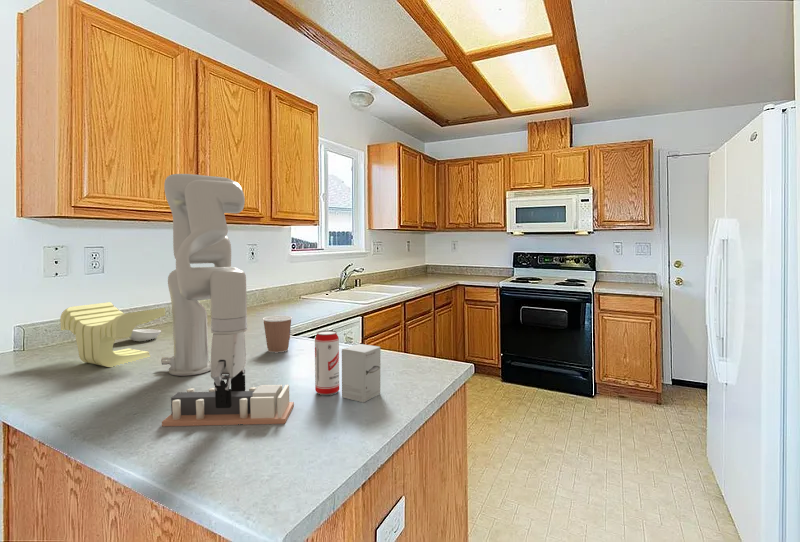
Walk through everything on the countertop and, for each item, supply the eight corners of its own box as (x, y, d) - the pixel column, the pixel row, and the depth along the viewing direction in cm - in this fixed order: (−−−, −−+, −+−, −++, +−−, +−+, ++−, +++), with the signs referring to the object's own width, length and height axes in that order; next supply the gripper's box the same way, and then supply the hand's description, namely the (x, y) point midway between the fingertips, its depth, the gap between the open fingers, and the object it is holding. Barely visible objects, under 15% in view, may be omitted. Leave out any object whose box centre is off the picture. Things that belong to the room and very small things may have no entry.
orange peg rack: (161, 426, 91) (161, 401, 91) (183, 408, 101) (182, 385, 101) (284, 423, 93) (284, 398, 93) (293, 406, 103) (293, 383, 102)
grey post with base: (169, 416, 94) (169, 394, 94) (180, 408, 99) (179, 386, 99) (275, 414, 95) (275, 392, 95) (280, 406, 100) (280, 385, 100)
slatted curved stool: (62, 361, 141) (59, 308, 140) (112, 350, 156) (110, 302, 155) (117, 373, 128) (115, 314, 127) (167, 360, 143) (165, 307, 142)
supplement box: (364, 403, 105) (364, 352, 104) (341, 397, 109) (340, 348, 108) (381, 394, 111) (381, 346, 110) (358, 389, 115) (358, 342, 114)
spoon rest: (151, 336, 181) (150, 319, 181) (167, 339, 175) (166, 321, 174) (87, 347, 161) (86, 328, 161) (102, 351, 155) (101, 332, 154)
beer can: (343, 389, 114) (343, 330, 113) (332, 398, 108) (331, 335, 107) (322, 387, 116) (322, 329, 115) (310, 395, 110) (309, 333, 109)
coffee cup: (298, 349, 157) (298, 317, 157) (276, 355, 149) (276, 321, 148) (279, 345, 163) (278, 314, 162) (257, 351, 154) (256, 318, 153)
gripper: (225, 317, 104) (227, 386, 105) (195, 332, 87) (198, 415, 88) (257, 317, 105) (258, 386, 106) (233, 332, 87) (235, 414, 88)
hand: (231, 399), depth 97 cm, fingers open, 9 cm apart
